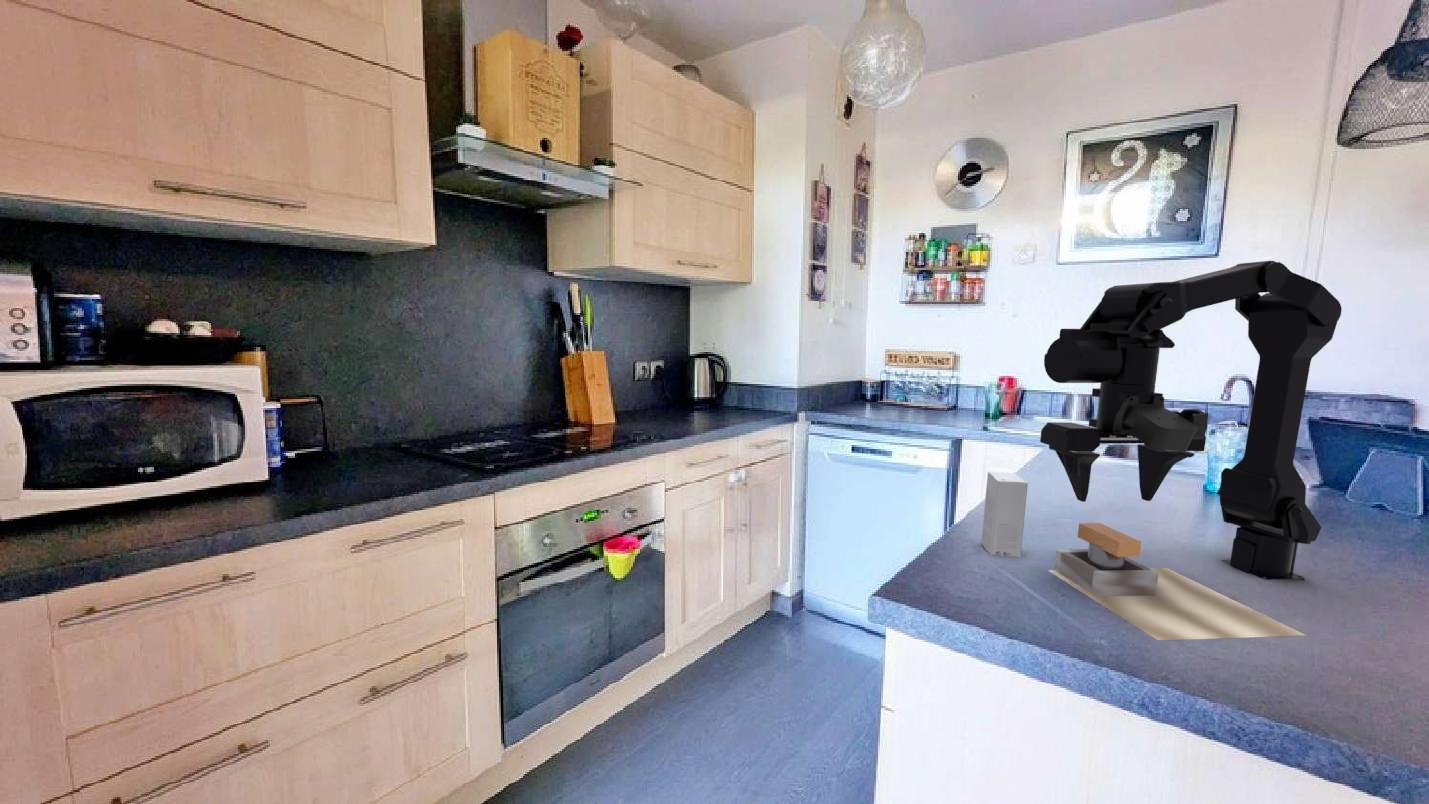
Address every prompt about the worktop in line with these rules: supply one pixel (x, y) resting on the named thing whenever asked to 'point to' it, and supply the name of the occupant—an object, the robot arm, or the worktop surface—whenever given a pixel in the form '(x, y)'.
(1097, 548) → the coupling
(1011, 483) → the skincare box
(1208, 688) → the worktop surface
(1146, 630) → the base
